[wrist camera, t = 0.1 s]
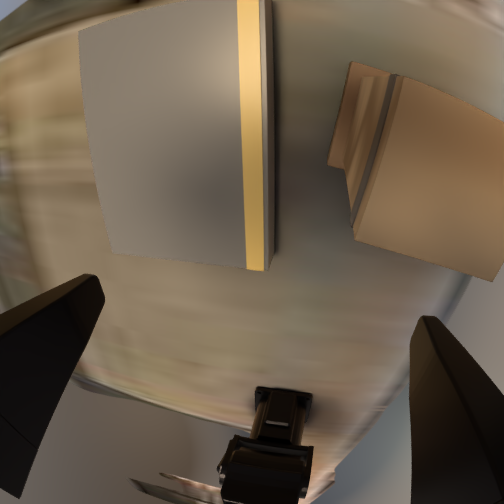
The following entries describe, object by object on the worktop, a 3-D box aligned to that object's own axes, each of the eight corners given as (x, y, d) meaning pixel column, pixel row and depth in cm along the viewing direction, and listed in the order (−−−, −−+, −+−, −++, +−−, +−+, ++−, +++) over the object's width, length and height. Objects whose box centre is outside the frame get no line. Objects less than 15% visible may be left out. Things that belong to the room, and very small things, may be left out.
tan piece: (423, 188, 19) (495, 302, 9) (327, 157, 20) (324, 254, 10) (451, 99, 15) (569, 141, 5) (349, 62, 16) (382, 41, 6)
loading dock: (274, 252, 24) (268, 271, 22) (127, 238, 27) (111, 253, 25) (271, 0, 15) (263, -10, 13) (99, 32, 17) (77, 31, 15)
